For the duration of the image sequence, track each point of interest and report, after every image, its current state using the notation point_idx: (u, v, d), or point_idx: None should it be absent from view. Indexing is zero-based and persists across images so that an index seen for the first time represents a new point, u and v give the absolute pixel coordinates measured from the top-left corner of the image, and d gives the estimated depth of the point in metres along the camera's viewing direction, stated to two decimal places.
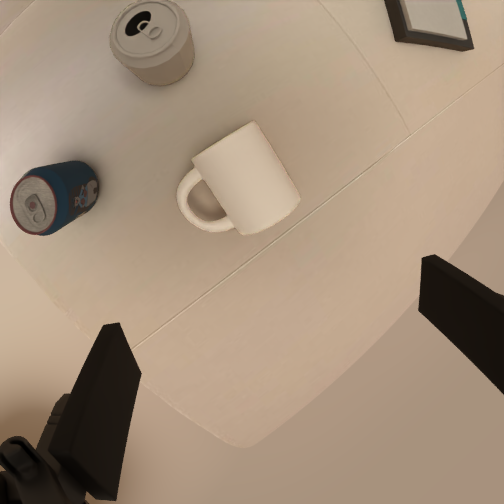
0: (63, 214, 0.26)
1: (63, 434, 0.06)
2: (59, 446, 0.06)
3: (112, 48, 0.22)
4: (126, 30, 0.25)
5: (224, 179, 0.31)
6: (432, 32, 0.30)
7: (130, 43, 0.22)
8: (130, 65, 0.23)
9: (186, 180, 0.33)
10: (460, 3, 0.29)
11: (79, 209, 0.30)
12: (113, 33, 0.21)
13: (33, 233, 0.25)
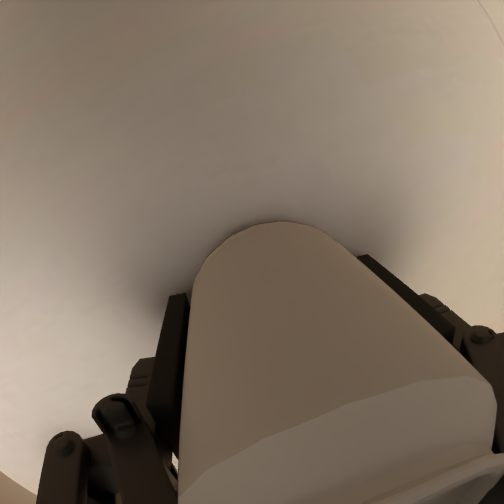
0: None
1: (160, 388, 0.08)
2: (159, 399, 0.08)
3: None
4: (197, 351, 0.08)
5: None
6: None
7: None
8: None
9: None
10: None
11: None
12: None
13: None
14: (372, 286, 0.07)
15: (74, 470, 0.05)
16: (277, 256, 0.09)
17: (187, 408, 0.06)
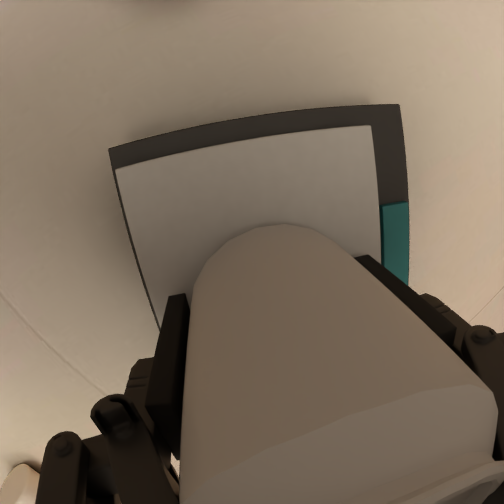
0: None
1: (159, 388, 0.08)
2: (157, 400, 0.07)
3: None
4: (197, 357, 0.07)
5: None
6: None
7: None
8: None
9: None
10: (402, 259, 0.16)
11: None
12: None
13: None
14: (374, 292, 0.07)
15: (73, 470, 0.05)
16: (278, 260, 0.09)
17: (188, 415, 0.06)
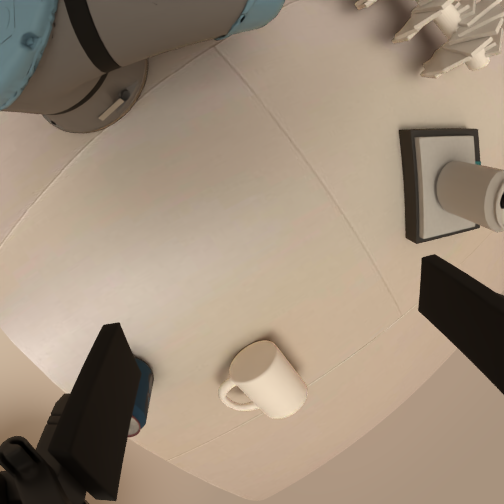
0: (143, 425, 0.37)
1: (63, 434, 0.06)
2: (59, 446, 0.06)
3: (486, 212, 0.28)
4: (468, 177, 0.31)
5: (255, 397, 0.41)
6: None
7: (501, 215, 0.28)
8: (492, 229, 0.29)
9: (226, 387, 0.44)
10: None
11: None
12: (498, 205, 0.27)
13: None
14: None
15: None
16: (471, 164, 0.32)
17: (476, 182, 0.29)
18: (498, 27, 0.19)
